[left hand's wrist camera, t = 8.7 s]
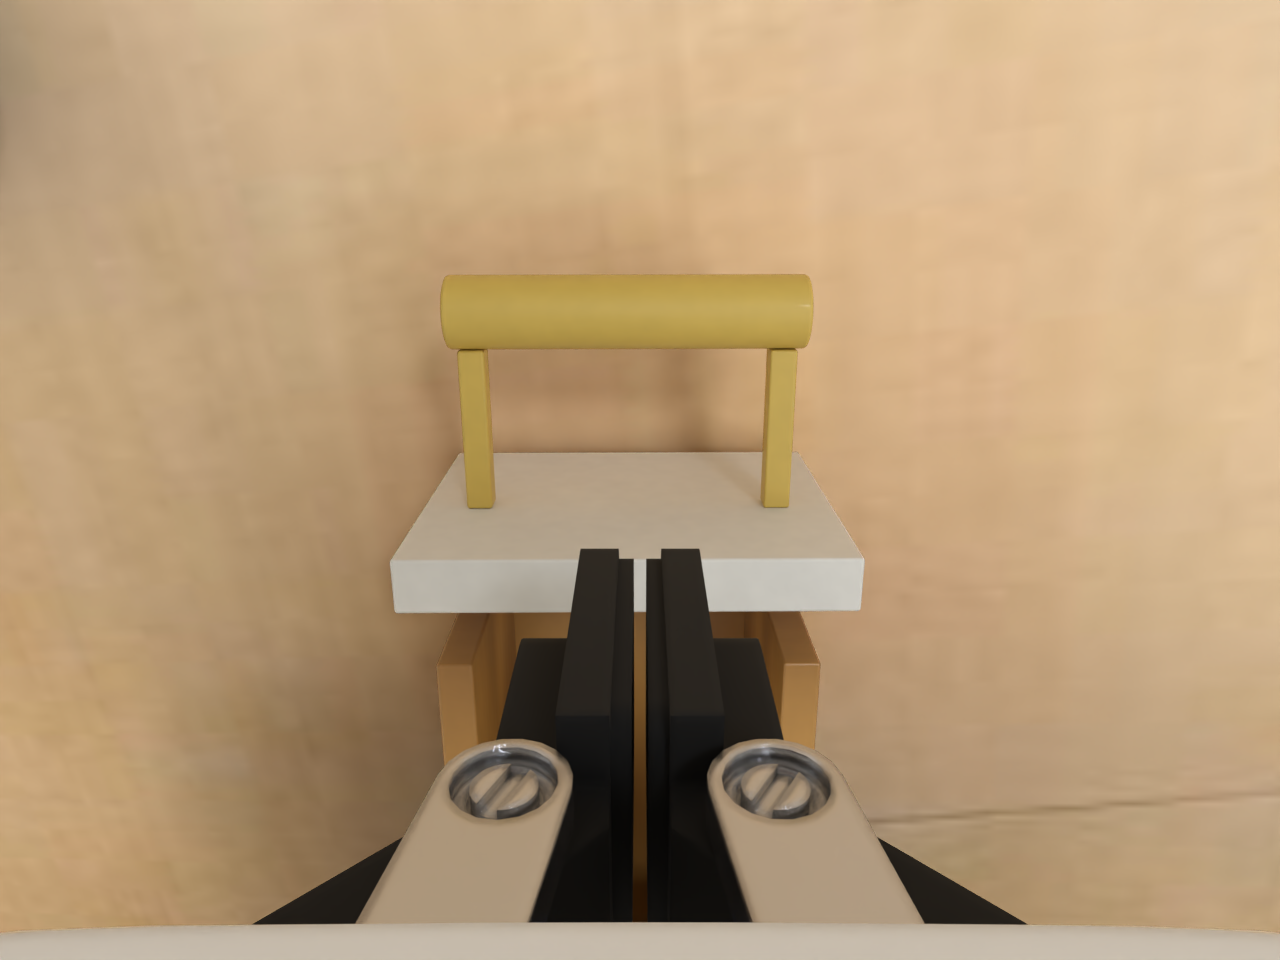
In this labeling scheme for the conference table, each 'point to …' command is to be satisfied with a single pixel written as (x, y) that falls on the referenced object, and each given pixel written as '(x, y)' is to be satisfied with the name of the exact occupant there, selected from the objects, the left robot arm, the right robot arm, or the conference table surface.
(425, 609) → the drawer
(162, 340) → the conference table surface
